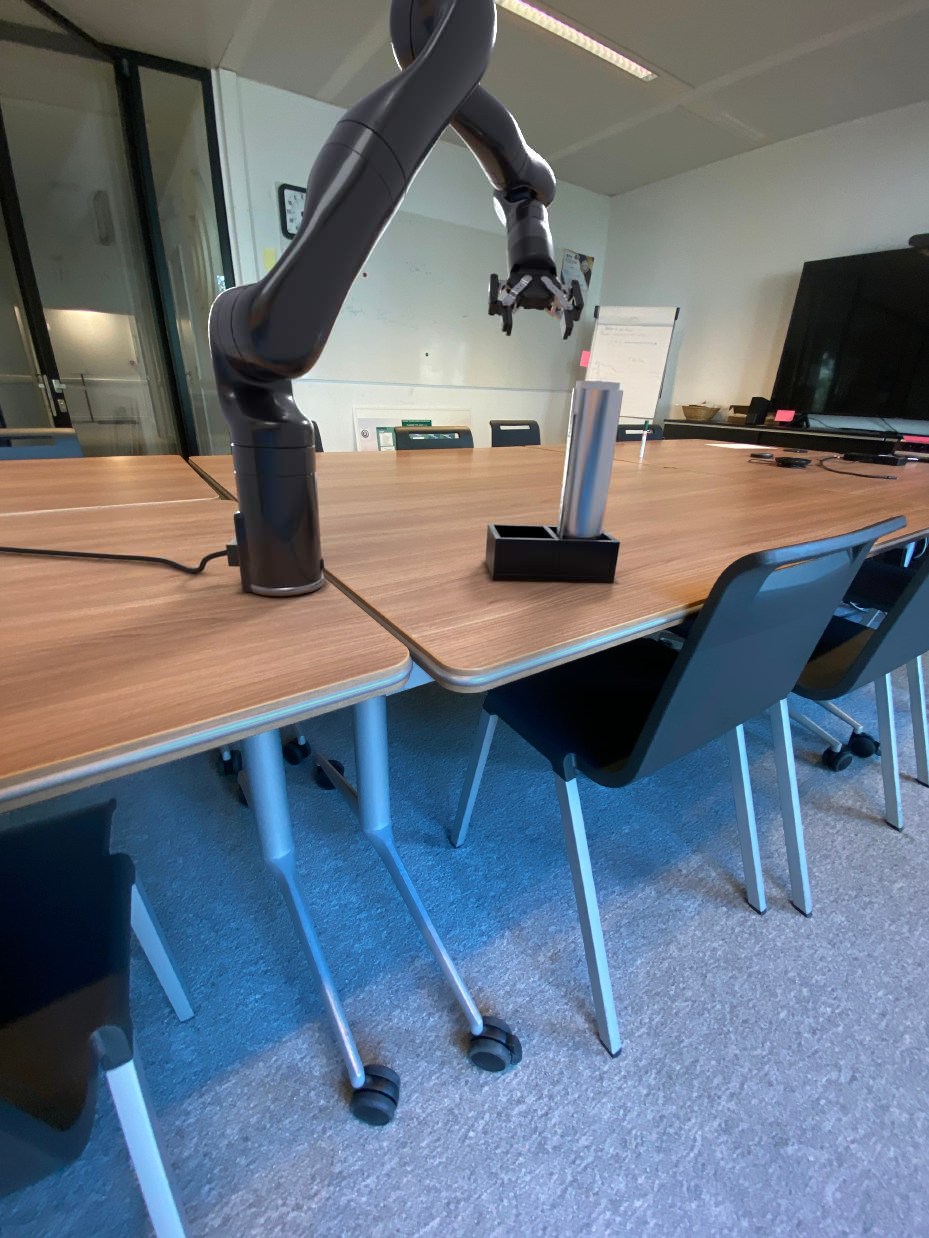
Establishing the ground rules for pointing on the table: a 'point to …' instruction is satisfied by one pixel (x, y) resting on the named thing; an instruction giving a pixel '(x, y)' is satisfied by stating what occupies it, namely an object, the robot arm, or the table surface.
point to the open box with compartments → (548, 555)
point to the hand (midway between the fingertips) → (538, 332)
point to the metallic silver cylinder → (588, 459)
